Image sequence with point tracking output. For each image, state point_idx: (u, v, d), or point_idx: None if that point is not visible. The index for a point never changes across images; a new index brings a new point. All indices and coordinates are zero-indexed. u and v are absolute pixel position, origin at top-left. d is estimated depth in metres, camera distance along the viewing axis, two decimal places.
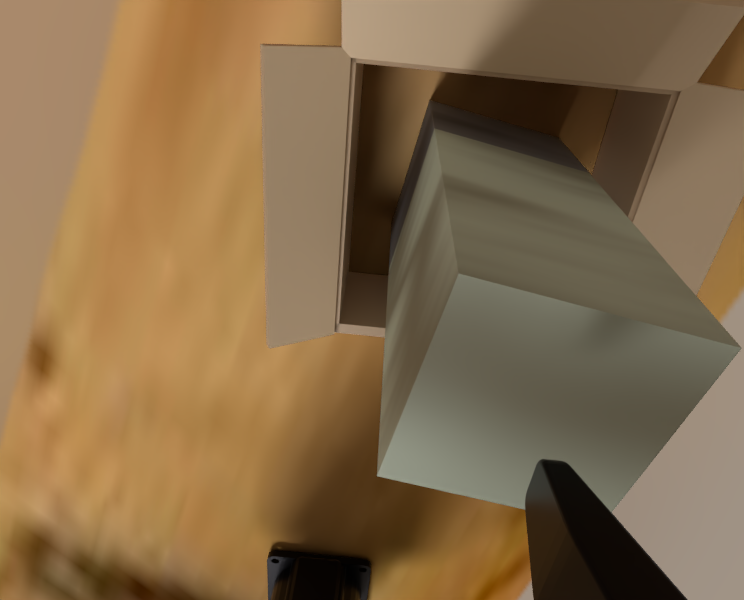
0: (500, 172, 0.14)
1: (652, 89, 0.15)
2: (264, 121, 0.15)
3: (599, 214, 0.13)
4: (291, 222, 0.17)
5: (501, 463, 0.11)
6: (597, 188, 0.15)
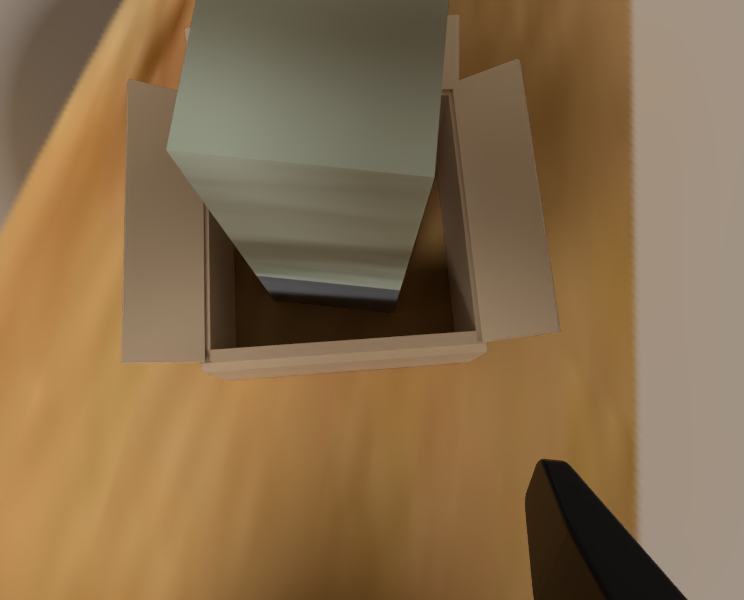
0: None
1: None
2: (127, 129, 0.18)
3: None
4: (151, 219, 0.18)
5: (296, 106, 0.10)
6: None
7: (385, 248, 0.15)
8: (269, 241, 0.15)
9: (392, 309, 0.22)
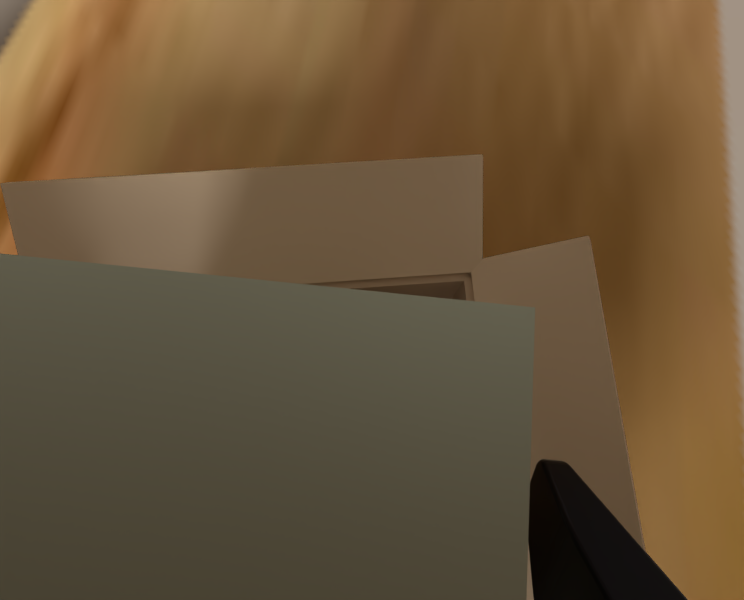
0: None
1: (438, 278, 0.12)
2: None
3: None
4: None
5: None
6: None
7: None
8: None
9: None
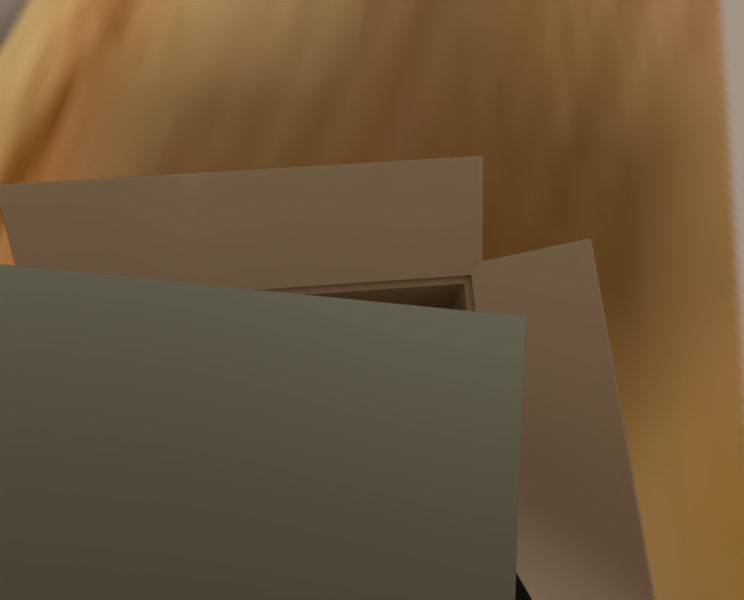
0: None
1: (437, 281, 0.12)
2: None
3: None
4: None
5: None
6: None
7: None
8: None
9: None
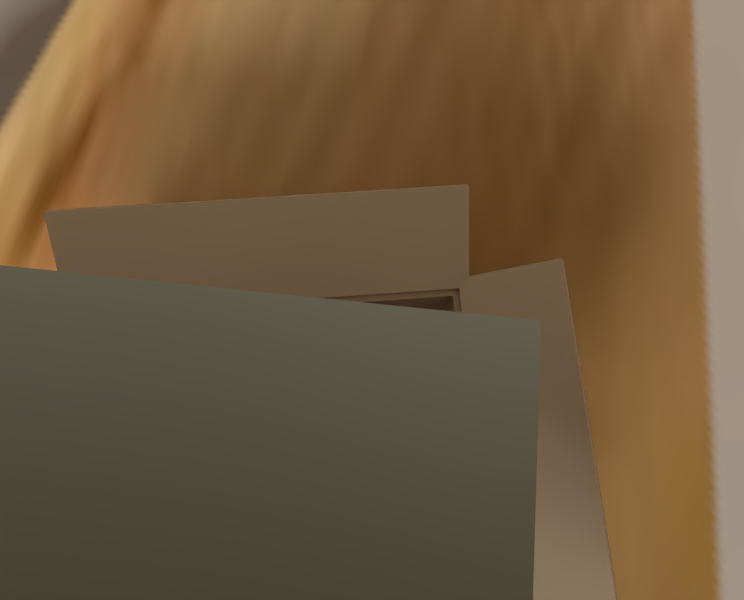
0: None
1: (429, 293, 0.14)
2: None
3: None
4: None
5: None
6: None
7: None
8: None
9: None
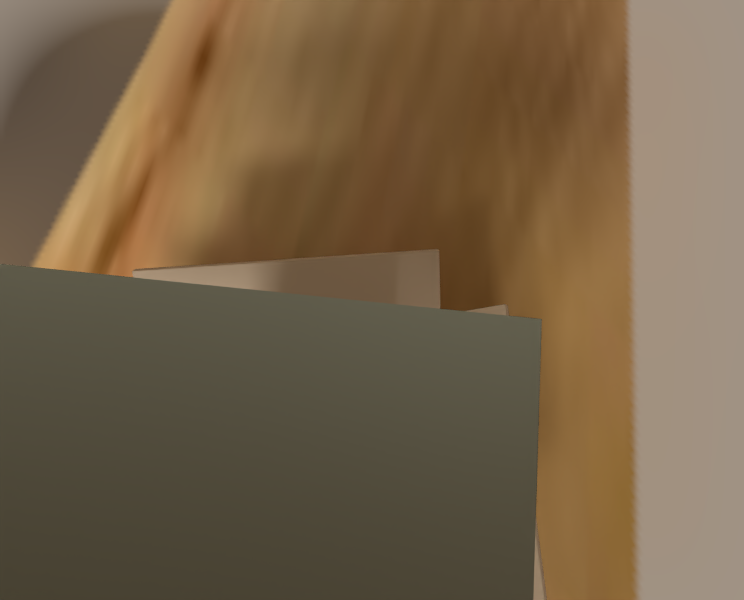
0: None
1: None
2: None
3: None
4: None
5: None
6: None
7: None
8: None
9: None
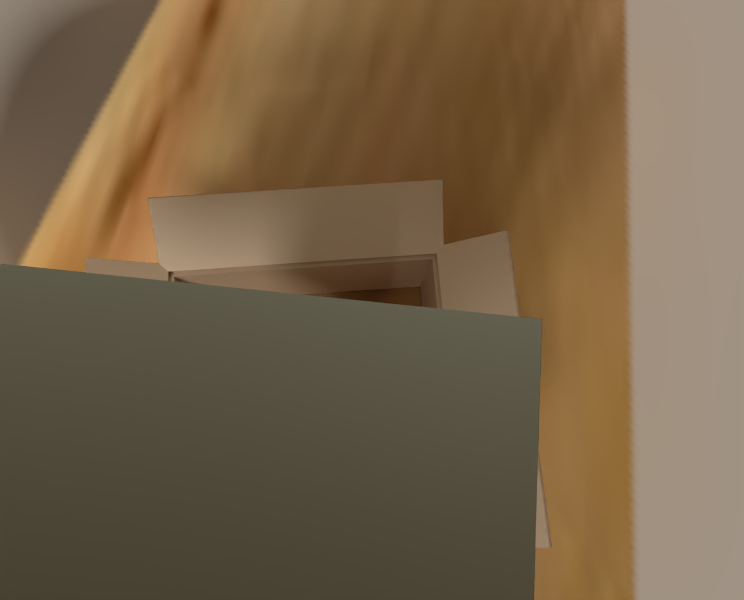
0: None
1: (415, 257, 0.19)
2: None
3: None
4: None
5: None
6: None
7: None
8: None
9: None
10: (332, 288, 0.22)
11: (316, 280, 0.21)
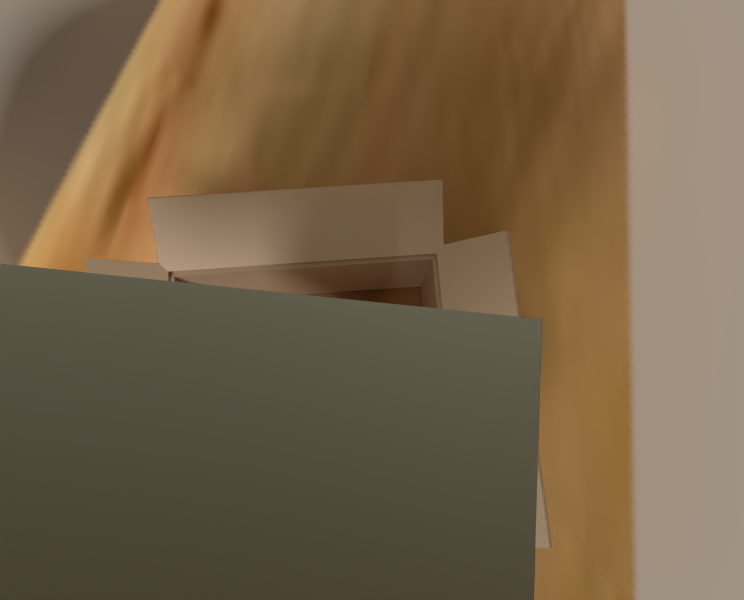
0: None
1: (415, 257, 0.19)
2: None
3: None
4: None
5: None
6: None
7: None
8: None
9: None
10: (332, 288, 0.22)
11: (316, 280, 0.21)
